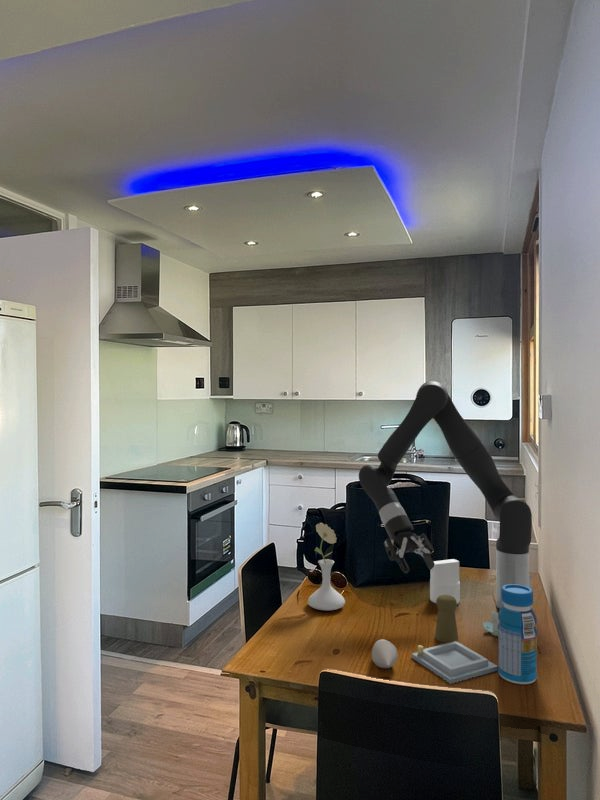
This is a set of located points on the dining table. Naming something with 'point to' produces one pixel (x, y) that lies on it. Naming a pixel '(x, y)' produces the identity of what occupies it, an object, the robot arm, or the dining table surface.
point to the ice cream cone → (384, 654)
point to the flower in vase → (326, 577)
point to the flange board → (453, 661)
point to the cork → (446, 619)
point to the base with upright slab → (445, 579)
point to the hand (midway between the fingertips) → (419, 569)
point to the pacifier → (492, 624)
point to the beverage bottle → (517, 635)
